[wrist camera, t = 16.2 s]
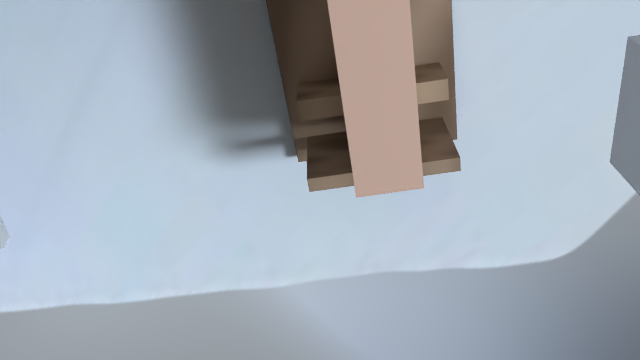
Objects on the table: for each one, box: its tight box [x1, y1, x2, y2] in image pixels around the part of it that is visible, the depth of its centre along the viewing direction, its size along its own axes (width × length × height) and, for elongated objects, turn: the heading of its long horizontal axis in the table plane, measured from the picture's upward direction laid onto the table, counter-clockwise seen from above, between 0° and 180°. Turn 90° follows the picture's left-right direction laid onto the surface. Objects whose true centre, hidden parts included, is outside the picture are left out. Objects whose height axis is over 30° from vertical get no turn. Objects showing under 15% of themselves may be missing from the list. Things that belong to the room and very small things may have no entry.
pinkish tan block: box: [327, 0, 424, 197], centre depth 34 cm, size 4×16×7 cm, turn 9°
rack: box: [266, 0, 461, 192], centre depth 38 cm, size 12×22×7 cm, turn 9°
